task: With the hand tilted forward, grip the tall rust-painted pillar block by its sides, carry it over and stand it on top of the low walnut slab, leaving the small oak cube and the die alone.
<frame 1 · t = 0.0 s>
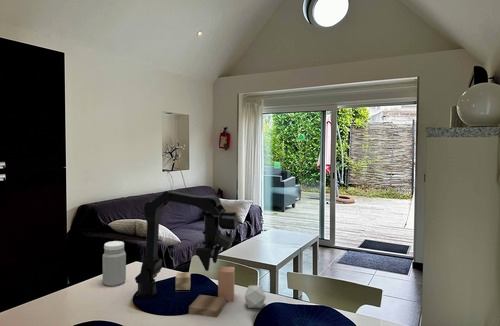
hand: (211, 266, 140), 15 cm above the table, tool pointing down, fingers open, 9 cm apart
slab: (207, 309, 136), on the table
die: (254, 306, 138), on the table
jar: (114, 283, 158), on the table
oak cube: (183, 288, 154), on the table
pillar: (226, 297, 145), on the table
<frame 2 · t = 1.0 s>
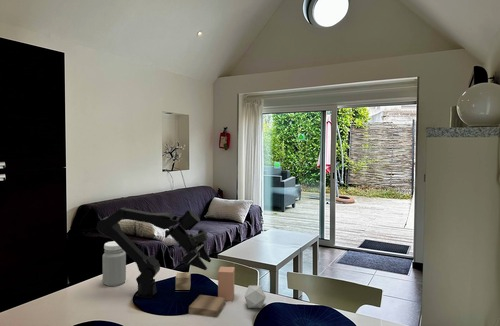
hand: (208, 265, 145), 13 cm above the table, tool tilted 45°, fingers open, 9 cm apart
nothing on the table moved.
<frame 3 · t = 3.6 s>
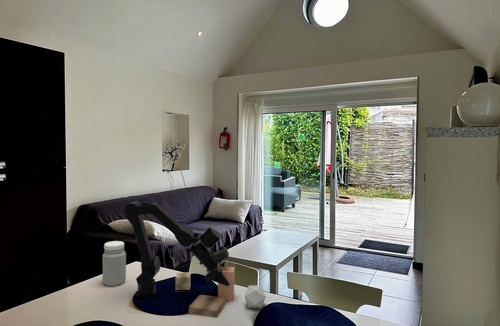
hand: (229, 282, 145), 7 cm above the table, tool tilted 45°, fingers closed on pillar, 6 cm apart
pillar: (226, 297, 145), on the table, touching gripper
everything else where it was.
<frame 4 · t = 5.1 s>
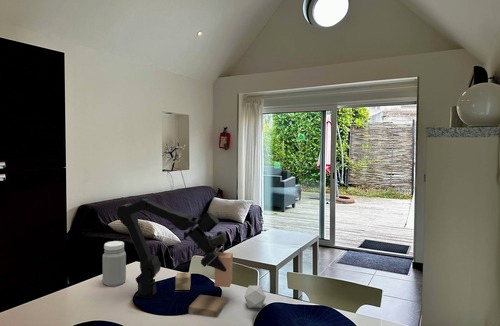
hand: (227, 268, 142), 13 cm above the table, tool tilted 45°, fingers closed on pillar, 6 cm apart
pillar: (223, 283, 143), point 7 cm above the table, touching gripper
everything else where it was.
when the fingers open (11 cm above the table, at t = 6.6 s): pillar drops 2 cm, resting on slab.
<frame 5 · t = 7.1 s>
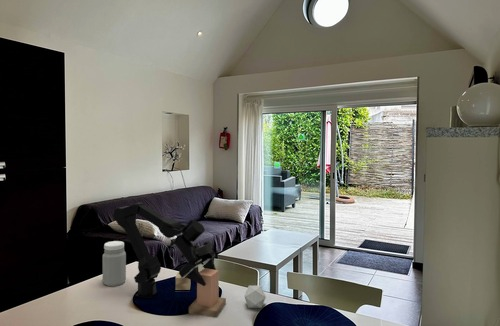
hand: (211, 280, 134), 11 cm above the table, tool tilted 45°, fingers open, 9 cm apart
slab: (207, 310, 136), on the table, touching pillar
pillar: (208, 302, 135), point 2 cm above the table, touching slab
everything else where it was.
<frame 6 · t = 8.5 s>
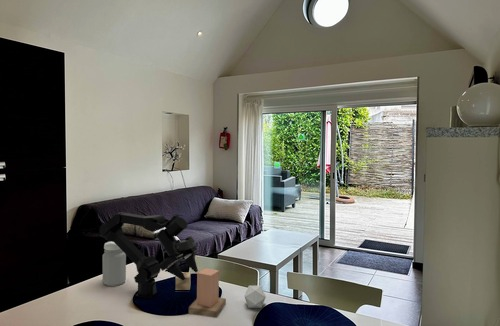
hand: (190, 275, 138), 12 cm above the table, tool tilted 40°, fingers open, 9 cm apart
slab: (207, 310, 136), on the table
pillar: (207, 302, 135), point 2 cm above the table
everything else where it was.
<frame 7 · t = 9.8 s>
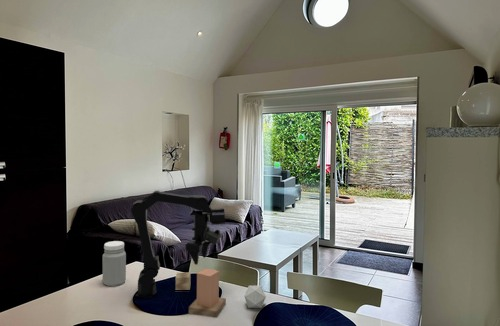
hand: (200, 260, 151), 13 cm above the table, tool pointing down, fingers open, 9 cm apart
slab: (207, 310, 136), on the table, touching pillar
pillar: (207, 302, 135), point 2 cm above the table, touching slab
everything else where it was.
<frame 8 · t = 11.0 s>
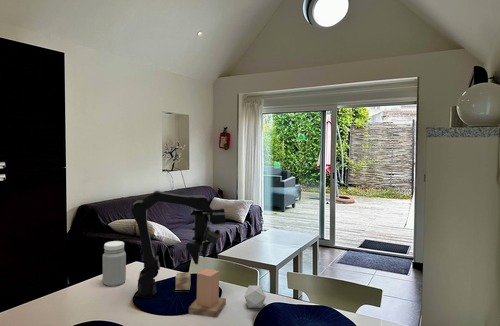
hand: (200, 260, 151), 13 cm above the table, tool pointing down, fingers open, 9 cm apart
slab: (207, 310, 136), on the table
pillar: (207, 302, 135), point 2 cm above the table
everything else where it was.
at the end: pillar inside the target area on the slab (0.1 cm from its centre), point 3.1 cm above the slab's base; pillar tilted 2°; the gripper is holding nothing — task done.
